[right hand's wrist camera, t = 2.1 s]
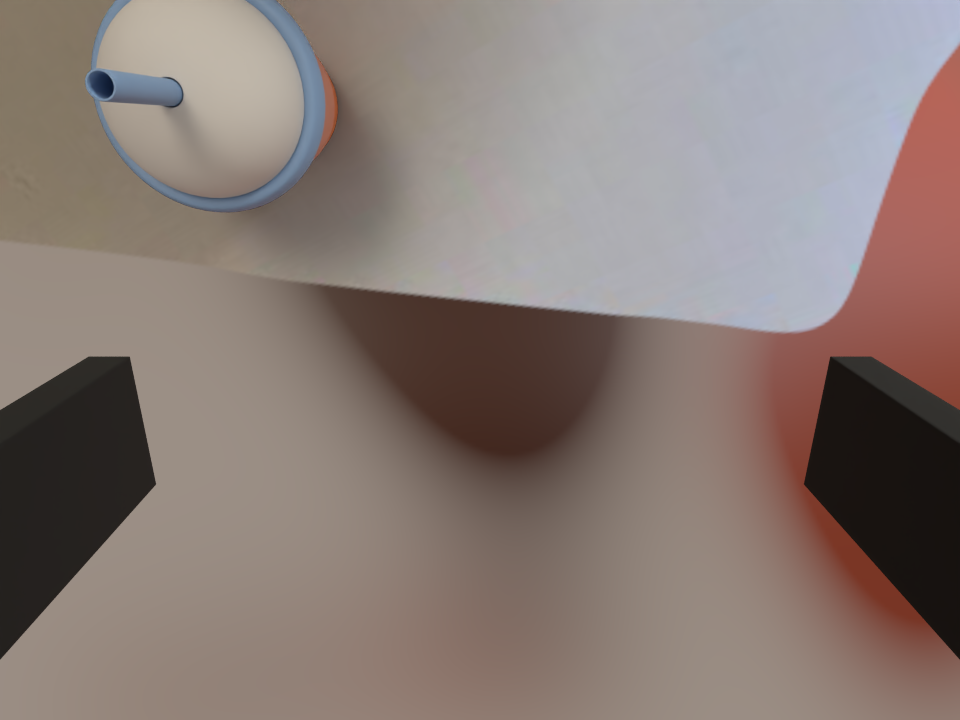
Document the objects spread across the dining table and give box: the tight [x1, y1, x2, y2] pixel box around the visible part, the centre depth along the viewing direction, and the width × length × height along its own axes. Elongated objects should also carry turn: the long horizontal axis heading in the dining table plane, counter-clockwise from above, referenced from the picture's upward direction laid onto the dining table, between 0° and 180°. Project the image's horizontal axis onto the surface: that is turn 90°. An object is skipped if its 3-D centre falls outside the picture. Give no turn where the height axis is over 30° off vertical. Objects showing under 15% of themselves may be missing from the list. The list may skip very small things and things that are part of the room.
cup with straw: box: [85, 0, 338, 212], centre depth 27 cm, size 9×9×18 cm
